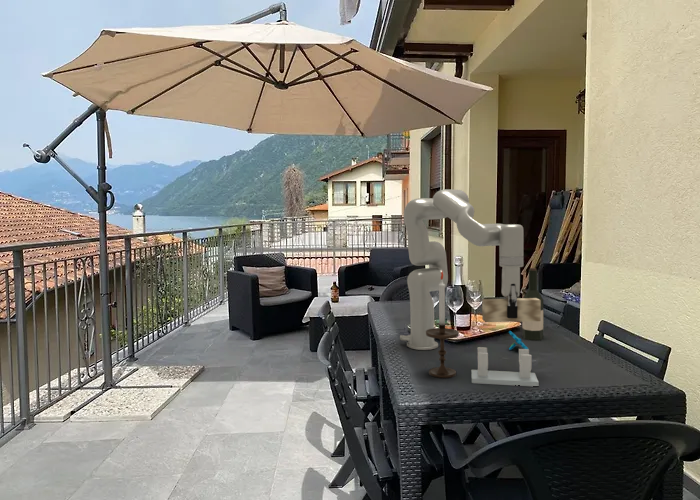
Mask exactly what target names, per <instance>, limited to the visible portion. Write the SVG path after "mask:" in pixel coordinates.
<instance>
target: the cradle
mask: <svg viewBox="0 0 700 500" xmlns="http://www.w3.org/2000/svg"><path fill="white" fill-rule="evenodd" d="M518 364H519V371H508V370H507V371H504V370H500V371H499V370H488V369H489V353H488V347H484V346H483V347H482V346H479V347H477V369H471V370H470V371H471V384H479V385H480V384H483V385H496V386H497V385H499V386H500V385H501V386H515V385H516V387H519V386H518V385H520V387H533V386H539V387H540V385H539V380H538V378H537V375H536V373H535V372H531V370H532V354H530V349H529V348H528V349H524V348H518Z"/></svg>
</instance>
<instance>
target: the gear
mask: <svg viewBox="0 0 700 500" xmlns="http://www.w3.org/2000/svg"><path fill="white" fill-rule="evenodd" d="M508 333H509V335H510V336H511V337H512V338H513V339H514V340H513V343H512V344H511V345H510V347H509V348H508V350H509V351H512V350H513V349H514V348H515V347H517V346H521V348H522V349H529V347H528V346H526V344H525V343H524V342H523V340H522V338H519V337H518V336H517V335H516V334H515V333H514V332H512V331H511V330H509V331H508Z"/></svg>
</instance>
